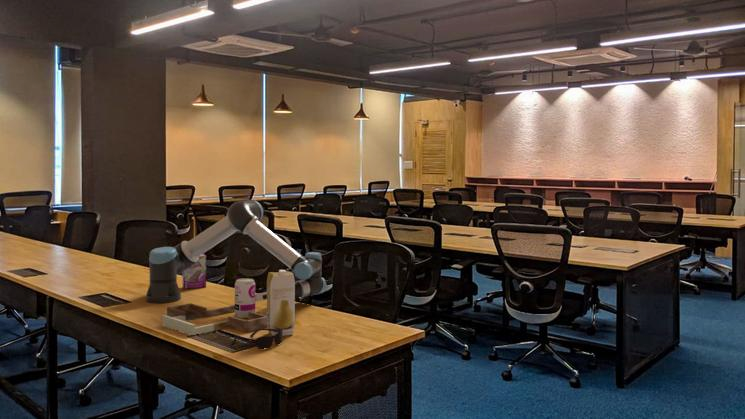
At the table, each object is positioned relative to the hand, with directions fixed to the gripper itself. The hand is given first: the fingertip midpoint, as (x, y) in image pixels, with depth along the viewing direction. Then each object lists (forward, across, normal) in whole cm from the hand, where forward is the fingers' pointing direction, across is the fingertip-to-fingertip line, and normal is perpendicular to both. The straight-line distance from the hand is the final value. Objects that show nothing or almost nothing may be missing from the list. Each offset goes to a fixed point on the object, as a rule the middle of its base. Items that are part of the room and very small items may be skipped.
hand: (255, 297), depth 252 cm
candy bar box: (-13, +64, -7) cm, 66 cm away
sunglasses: (+26, -34, -7) cm, 43 cm away
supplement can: (+5, 0, -7) cm, 9 cm away
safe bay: (+32, 0, -7) cm, 33 cm away
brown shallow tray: (+15, 0, -7) cm, 16 cm away
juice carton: (+13, -31, -7) cm, 34 cm away
